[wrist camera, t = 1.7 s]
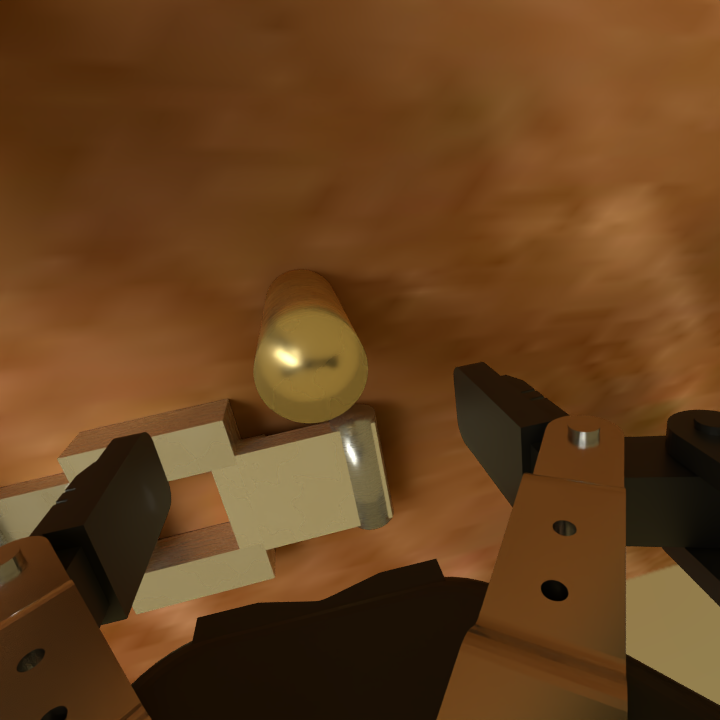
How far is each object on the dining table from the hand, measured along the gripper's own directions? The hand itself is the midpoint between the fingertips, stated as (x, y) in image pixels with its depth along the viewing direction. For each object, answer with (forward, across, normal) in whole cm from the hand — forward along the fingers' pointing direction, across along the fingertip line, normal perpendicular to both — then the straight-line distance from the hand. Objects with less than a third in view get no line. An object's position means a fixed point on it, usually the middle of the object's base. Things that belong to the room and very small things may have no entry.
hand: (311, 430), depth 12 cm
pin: (+11, 0, -1) cm, 11 cm away
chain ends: (+12, +8, +8) cm, 16 cm away
